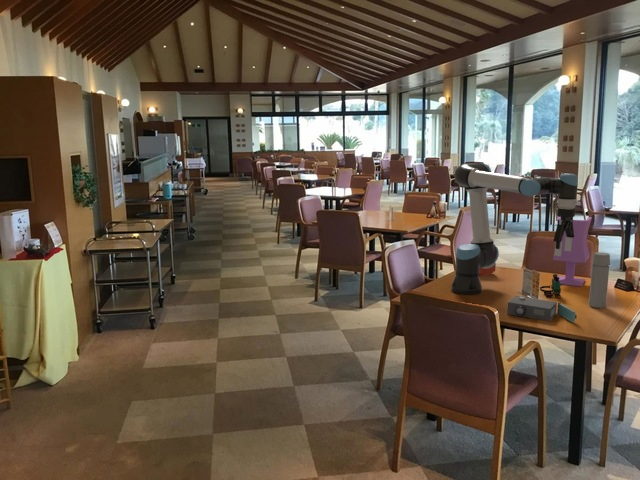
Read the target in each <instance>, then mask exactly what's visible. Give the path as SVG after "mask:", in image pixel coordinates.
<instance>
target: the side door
mask: <svg viewBox="0 0 640 480" xmlns="http://www.w3.org/2000/svg"><path fill="white" fill-rule="evenodd" d="M556 315H560V316H561V317H563V318H564V319H566V320H568V321H570V322H571V323H576V322H575V321H576V320H577V316H578V315H577V314H576V311H575V310H573V309H571V308H570V307H567V306H566V305H564V304H562V303H561V302H558V301H557V309H556Z"/></svg>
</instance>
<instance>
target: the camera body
mask: <svg viewBox="0 0 640 480" xmlns="http://www.w3.org/2000/svg"><path fill="white" fill-rule="evenodd" d="M557 310H558V301H553V300H545V299H539V298H532V297H526V296H519V295H515V296H513V297H512V298H511V299H510V300H509V301H507V311H506V313H507V315H511V316H517V317H523V318H527V317H528V319H534V320H539V321H545V322H546V321H547V322H550V321H552V319H553V318H554V317H555V316H556V315H557Z"/></svg>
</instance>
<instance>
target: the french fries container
mask: <svg viewBox="0 0 640 480" xmlns="http://www.w3.org/2000/svg"><path fill="white" fill-rule="evenodd" d="M496 262H497V261H496ZM496 262H495V263H494V264H492V265H490V266H485V267H482V268H479V276H491V275H492V274H493V273H494V272H495V271H496V267H497V265H496V264H497V263H496Z"/></svg>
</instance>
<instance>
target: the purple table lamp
mask: <svg viewBox="0 0 640 480" xmlns="http://www.w3.org/2000/svg"><path fill="white" fill-rule="evenodd" d="M592 219H593V217H591V216H589V217H588V218H586V219H573V229H574V238H573V237H571V238H572V244H571V251H564V250H565V238H566V237H567V236H566V232H564V235H563V238H562V241H561V242H562V250H561V256H555V255H554V254H555V251H554V253H553V255H552V261H558V262H559V261H560V262H561V261H562V262H566V263H565V264H566V265H565V276H560V275H558V277H559V281H560V284H562V286H564V285H565V286H569V287H571V286H572V287H579V288H582V287H583V285H584V284H585V282H586V279H585V278H578V277H575V268H576V263H578V264H579V263H580V264H586V263H587V261H588V260H589V258H590V251H589V246H588V232H589V229H590V226H591V222H592ZM558 220H561V217H559V216H557V218H556V222H557V223H558Z"/></svg>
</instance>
